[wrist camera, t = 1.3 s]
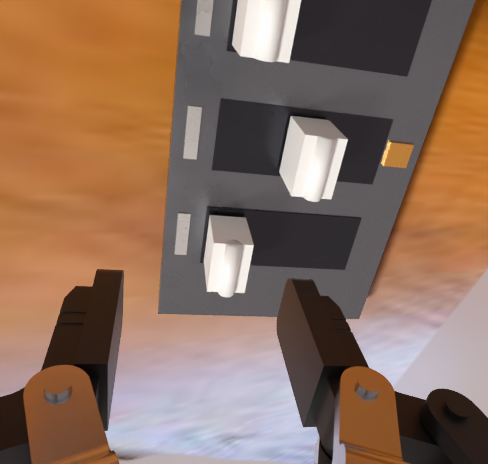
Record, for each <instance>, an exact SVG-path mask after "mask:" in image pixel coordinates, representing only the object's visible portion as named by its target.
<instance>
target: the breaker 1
mask: <svg viewBox="0 0 488 464" xmlns="http://www.w3.org/2000/svg"><path fill="white" fill-rule="evenodd" d="M253 247H254V244H253V241H252V237H251V234H250V230H249V227H248V223H247V220H246V218H245V217H231V216H217V215H210V217H209V224H208V232H207V240H206V247H205V255H204V268H205V278H206V287H207V292H218V293H219V295H221V296H222V297H231V296H233V295H234V293H245V288H246V283H247V278H248V273H249V268H250V262H251V257H252V252H253Z"/></svg>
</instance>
